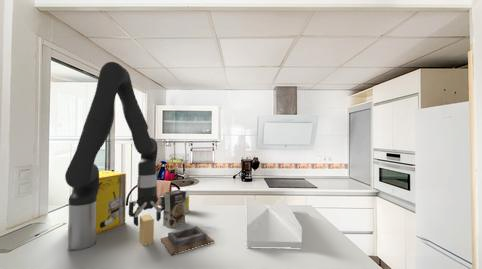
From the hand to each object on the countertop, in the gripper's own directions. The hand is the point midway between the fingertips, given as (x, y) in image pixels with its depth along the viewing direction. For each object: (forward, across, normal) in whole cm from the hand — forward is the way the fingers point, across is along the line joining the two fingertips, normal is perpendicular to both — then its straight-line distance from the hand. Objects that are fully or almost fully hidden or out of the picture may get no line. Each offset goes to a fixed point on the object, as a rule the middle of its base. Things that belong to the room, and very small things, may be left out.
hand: (147, 222), depth 96 cm
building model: (+10, +53, -17) cm, 57 cm away
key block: (+8, -1, 0) cm, 8 cm away
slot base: (+8, +13, -10) cm, 18 cm away
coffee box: (+8, +16, +11) cm, 21 cm away
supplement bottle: (+8, +26, +25) cm, 37 cm away
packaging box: (+7, -16, +29) cm, 34 cm away
